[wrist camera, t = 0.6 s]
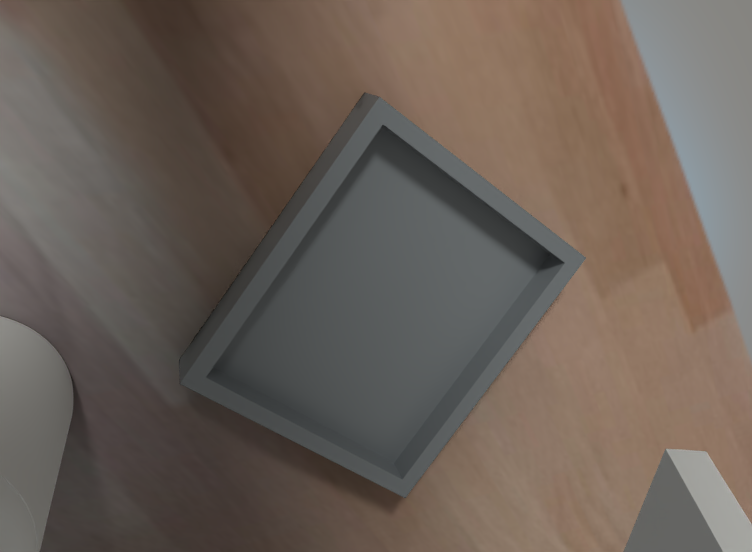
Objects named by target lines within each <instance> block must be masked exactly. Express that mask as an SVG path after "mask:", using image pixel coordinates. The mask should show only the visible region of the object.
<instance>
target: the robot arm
mask: <svg viewBox="0 0 752 552" xmlns="http://www.w3.org/2000/svg"><path fill="white" fill-rule="evenodd" d="M624 552H752V524H751V522H750V521H749V519H748V518H747V516H746V514H745V513H744V511H743V510H742V508H741V506H740V505H739V503H738V502H737V500H736V498H735V497H734V495H733V494H732V492H731V490H730V489H729V487H728V486H727V484H726V482H725V481H724V479H723V478H722V476H721V474H720V473H719V471H718V470H717V468H716V466H715V465H714V463H713V462H712V460H711V458H710V457H709V455H708V454H707V452H706V451H693V450H677V449H665V452H664V454H663V456H662V459H661V461H660V464H659V466H658V469H657V471H656V474H655V476H654V478H653V481H652V483H651V486H650V488H649V491H648V493H647V496H646V498H645V500H644V503H643V505H642V508H641V510H640V513H639V515H638V518H637V520H636V523H635V525H634V527H633V530H632V532H631V535H630V537H629V540H628V542H627V545H626V547H625V549H624Z"/></svg>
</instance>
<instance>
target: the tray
mask: <svg viewBox="0 0 752 552" xmlns="http://www.w3.org/2000/svg"><path fill="white" fill-rule="evenodd" d="M585 259H586V257H584V256H583V255H582V254H580V253H579V252H578V251H577V250H575V249H574V248H573V247H571V246H570V245H569V244H568V243H566V242H565V241H564V240H562V239H561V238H560V237H559V236H557V235H556V234H555V233H553V232H552V231H551V230H550V229H548V228H547V227H546V226H544V225H543V224H542V223H541V222H539V221H538V220H537V219H536V218H534V217H533V216H532V215H530V214H529V213H528V212H527V211H525V210H524V209H523V208H521V207H520V206H519V205H518V204H516V203H515V202H514V201H512V200H511V199H510V198H509V197H507V196H506V195H505V194H503V193H502V192H501V191H500V190H498V189H497V188H496V187H494V186H493V185H492V184H491V183H489V182H488V181H487V180H485V179H484V178H483V177H482V176H480V175H479V174H478V173H476V172H475V171H474V170H473V169H471V168H470V167H469V166H467V165H466V164H465V163H464V162H462V161H461V160H460V159H458V158H457V157H456V156H455V155H453V154H452V153H451V152H450V151H448V150H447V149H446V148H444V147H443V146H442V145H441V144H439V143H438V142H437V141H435V140H434V139H433V138H432V137H430V136H429V135H428V134H426V133H425V132H424V131H423V130H421V129H420V128H419V127H417V126H416V125H415V124H414V123H412V122H411V121H410V120H408V119H407V118H406V117H405V116H403V115H402V114H401V113H399V112H398V111H397V110H396V109H394V108H393V107H392V106H390V105H389V104H388V103H387V102H385V101H384V100H383V99H381V98H380V97H378V96H375V95H371V94H368V93H364V94H363V95H362V97H361V98H360V100H359V101H358V103H357V104H356V106H355V107H354V108H353V110H352V111H351V113H350V114H349V116H348V117H347V119H346V120H345V121H344V123H343V124H342V126H341V127H340V129H339V130H338V132H337V133H336V134H335V136H334V137H333V139H332V140H331V142H330V143H329V145H328V146H327V147H326V149H325V150H324V152H323V153H322V155H321V156H320V158H319V159H318V160H317V162H316V163H315V165H314V166H313V168H312V169H311V171H310V172H309V173H308V175H307V176H306V178H305V179H304V181H303V182H302V184H301V185H300V186H299V188H298V189H297V191H296V192H295V194H294V195H293V197H292V198H291V199H290V201H289V202H288V204H287V205H286V207H285V208H284V210H283V211H282V212H281V214H280V215H279V217H278V218H277V220H276V221H275V223H274V224H273V225H272V227H271V228H270V230H269V231H268V233H267V234H266V235H265V237H264V238H263V240H262V241H261V243H260V244H259V246H258V247H257V248H256V250H255V251H254V253H253V254H252V256H251V257H250V259H249V260H248V261H247V263H246V264H245V266H244V267H243V269H242V270H241V272H240V273H239V274H238V276H237V277H236V279H235V280H234V282H233V283H232V285H231V286H230V287H229V289H228V290H227V292H226V293H225V295H224V296H223V298H222V299H221V300H220V302H219V303H218V305H217V306H216V308H215V309H214V311H213V312H212V313H211V315H210V316H209V318H208V319H207V321H206V322H205V324H204V325H203V326H202V328H201V329H200V331H199V332H198V334H197V335H196V337H195V338H194V339H193V341H192V342H191V344H190V345H189V347H188V348H187V350H186V351H185V352H184V354H183V355H182V357H181V358H180V360H179V373H180V384H181V385H183V386H185V387H187V388H189V389H191V390H193V391H195V392H197V393H199V394H201V395H203V396H205V397H207V398H209V399H211V400H213V401H215V402H217V403H219V404H221V405H223V406H225V407H226V408H228V409H230V410H232V411H234V412H236V413H238V414H240V415H242V416H244V417H246V418H248V419H250V420H252V421H254V422H256V423H258V424H260V425H262V426H264V427H266V428H268V429H270V430H272V431H274V432H276V433H278V434H280V435H282V436H284V437H286V438H288V439H290V440H292V441H294V442H296V443H298V444H299V445H301V446H303V447H305V448H307V449H309V450H311V451H313V452H315V453H317V454H319V455H321V456H323V457H325V458H327V459H329V460H331V461H333V462H335V463H337V464H339V465H341V466H343V467H345V468H347V469H349V470H351V471H353V472H355V473H357V474H359V475H361V476H363V477H365V478H367V479H369V480H371V481H373V482H374V483H376V484H378V485H380V486H382V487H384V488H386V489H388V490H390V491H392V492H394V493H396V494H398V495H400V496H402V497H404V498H406V496H407V495H408V494H409V492H410V491H411V490H412V488H413V487H414V486H415V484H416V483H417V482H418V480H419V479H420V478H421V476H422V475H423V474H424V472H425V471H426V470H427V468H428V467H429V466H430V465H431V463H432V462H433V461H434V459H435V458H436V457H437V455H438V454H439V453H440V451H441V450H442V449H443V447H444V446H445V445H446V443H447V442H448V441H449V439H450V438H451V437H452V435H453V434H454V433H455V431H456V430H457V429H458V427H459V426H460V425H461V423H462V422H463V421H464V419H465V418H466V417H467V415H468V414H469V413H470V411H471V410H472V409H473V407H474V406H475V405H476V403H477V402H478V401H479V400H480V398H481V397H482V396H483V394H484V393H485V392H486V390H487V389H488V388H489V386H490V385H491V384H492V382H493V381H494V380H495V378H496V377H497V376H498V374H499V373H500V372H501V370H502V369H503V368H504V366H505V365H506V364H507V362H508V361H509V360H510V358H511V357H512V356H513V354H514V353H515V352H516V350H517V349H518V348H519V346H520V345H521V344H522V342H523V341H524V340H525V338H526V337H527V336H528V335H529V333H530V332H531V331H532V329H533V328H534V327H535V325H536V324H537V323H538V321H539V320H540V319H541V317H542V316H543V315H544V313H545V312H546V311H547V309H548V308H549V307H550V305H551V304H552V303H553V301H554V300H555V299H556V297H557V296H558V295H559V293H560V292H561V291H562V289H563V288H564V287H565V285H566V284H567V283H568V281H569V280H570V279H571V277H572V276H573V275H574V273H575V272H576V271H577V269H578V268H579V267H580V266H581V264H582V263H583V262H584V260H585Z"/></svg>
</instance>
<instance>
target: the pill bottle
mask: <svg viewBox="0 0 752 552" xmlns="http://www.w3.org/2000/svg"><path fill="white" fill-rule="evenodd" d="M72 413H73V385H72V380H71V376H70V373H69V371H68V368H67V366H66V364H65V362H64V360H63V359H62V357H61V356H60V354H59V353H58V351H57V350H56V349H55V348H54V347H53V346H52V344H51V343H50V342H48V341H47V340H46V339H45V338H44V337H43V336H41V335H40V334H39V333H37V332H36V331H34V330H33V329H31V328H29V327H27V326H26V325H24V324H21V323H19V322H17V321H14V320H11V319H8V318H5V317H1V316H0V552H40V549H41V544H42V540H43V536H44V532H45V528H46V523H47V519H48V515H49V511H50V507H51V502H52V498H53V494H54V490H55V486H56V481H57V477H58V473H59V469H60V465H61V460H62V456H63V452H64V448H65V444H66V439H67V435H68V431H69V427H70V423H71V418H72Z"/></svg>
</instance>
